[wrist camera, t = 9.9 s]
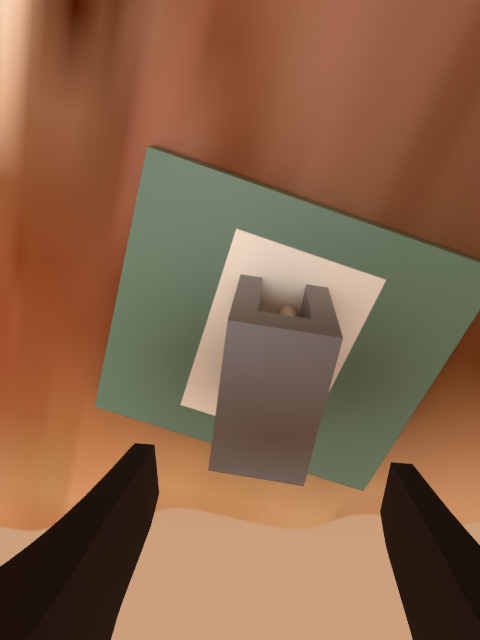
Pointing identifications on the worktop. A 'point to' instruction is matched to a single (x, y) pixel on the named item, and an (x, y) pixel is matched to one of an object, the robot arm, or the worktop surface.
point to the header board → (278, 307)
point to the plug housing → (273, 385)
